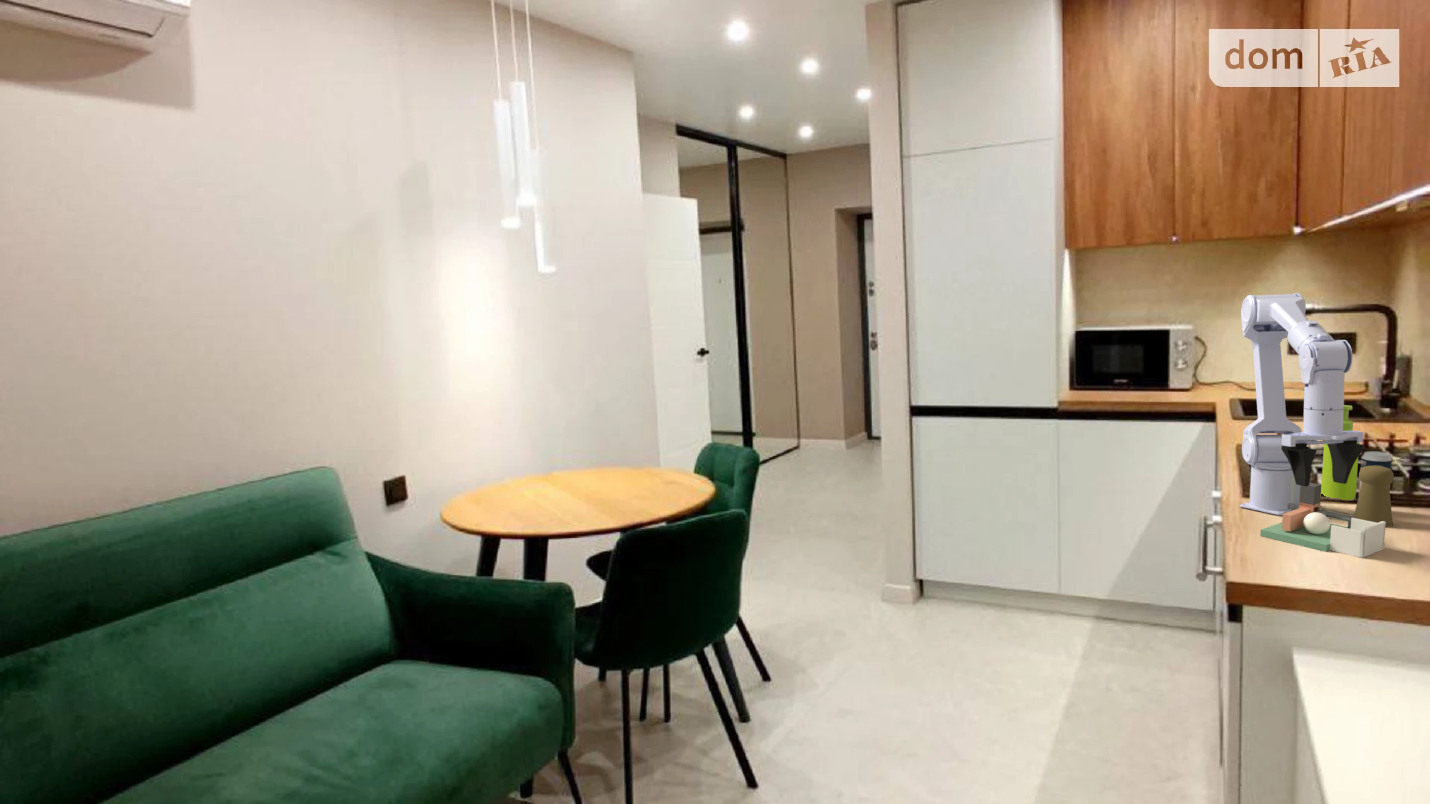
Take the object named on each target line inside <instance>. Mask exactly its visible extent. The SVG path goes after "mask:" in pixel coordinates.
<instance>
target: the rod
mask: <svg viewBox="0 0 1430 804" xmlns="http://www.w3.org/2000/svg"><path fill="white" fill-rule="evenodd" d="M1288 509H1290V510H1291V511H1293V510H1296V509H1299V505H1297V504H1292V503H1289V504H1288ZM1314 512H1318V513H1322V514H1324V515H1325V516H1327V517H1328V519H1329V518H1331V519H1334V520H1339V521H1345V522H1347V527H1348V529H1351V518H1356V519H1357V517H1356V516H1354V515H1351V514H1346V513H1343V512H1342V513H1341V512H1336V511H1331V510H1326V509H1321V508H1320V509H1317V508H1314Z"/></svg>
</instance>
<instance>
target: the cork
mask: <svg viewBox="0 0 1430 804" xmlns="http://www.w3.org/2000/svg"><path fill="white" fill-rule="evenodd" d="M1394 475H1395V474H1394V472H1393V471H1392V469H1391V470H1390V469H1389V468H1386V467H1382V466H1365V467H1363V468H1362V469H1361V468H1360V470H1359V473H1358V478H1359V481H1360V480H1361V482H1362V485H1361V489H1360V494H1359V493H1358V498H1357V502H1356V506H1355V511H1354V514H1353V516H1356V517H1357V519H1361V520H1366V521H1371V522H1376V523H1379V522H1381V521H1384V522H1386V524H1385V528H1388V527H1392V526H1393V513H1392V512H1393V511H1392V503H1391V490H1390V489H1389V485H1390V486H1391V484H1392V483H1393V482H1394Z"/></svg>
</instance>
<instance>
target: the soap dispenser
mask: <svg viewBox="0 0 1430 804" xmlns="http://www.w3.org/2000/svg"><path fill="white" fill-rule="evenodd" d="M1350 411H1353V406H1352V405H1347V404H1344V409H1343V431H1354V430H1353V429H1354V422H1353V421H1352V420H1351V419H1349V413H1350ZM1323 441H1326V440H1323ZM1357 444H1360V443H1357ZM1358 465H1359V457H1358V458H1357V459H1356V461H1355V463H1354V465H1353V467H1352V469H1351V472H1350V474H1349V477H1348V480H1347V483H1346V484H1342V483H1337V482H1333V477H1332V459H1331V454H1330V450H1329V447H1328V445H1327V444H1323V456H1322V469H1321V470H1322V471H1321V484H1320V485H1321V494H1323V495H1324V496H1326V497H1330V498H1339V499H1342V500H1350V499H1354V498H1355V499H1356V494H1357V481H1358V480H1357V479H1358V468H1359V467H1358Z"/></svg>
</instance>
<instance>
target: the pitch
mask: <svg viewBox="0 0 1430 804" xmlns="http://www.w3.org/2000/svg"><path fill="white" fill-rule="evenodd" d="M1332 525H1334V526H1339V527H1344V528H1348V526H1343V525H1339V524H1336V523H1335V524H1334V523H1330V528H1329V530H1328V531H1327V532H1325V533H1323V534H1312V533H1310V532H1308V531H1307V530H1306V529H1305V527H1301V528H1298V529H1295V530H1293V531H1286V530H1282V521H1281V522H1279V523H1276V524H1272V525H1270V526H1267V527H1264V528H1262V529H1260V537H1264V538H1268V539H1273V540H1277V541H1280V542H1285V543H1290V544H1291V545H1292V544H1293V545H1297V546H1302V547H1305V548H1310V549H1314V550H1317V549H1318V551H1322V552H1328V550H1329V551H1331V550H1330V536H1331V526H1332Z"/></svg>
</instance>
